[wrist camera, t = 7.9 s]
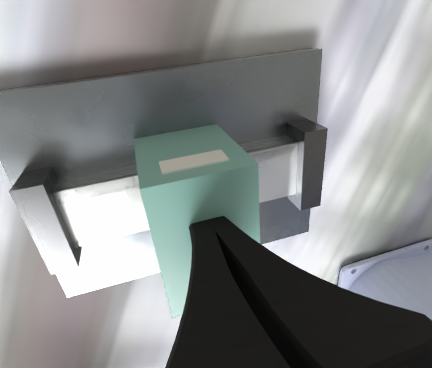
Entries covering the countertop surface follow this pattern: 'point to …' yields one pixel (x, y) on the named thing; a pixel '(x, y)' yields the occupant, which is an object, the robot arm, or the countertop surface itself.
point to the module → (193, 195)
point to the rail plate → (126, 160)
